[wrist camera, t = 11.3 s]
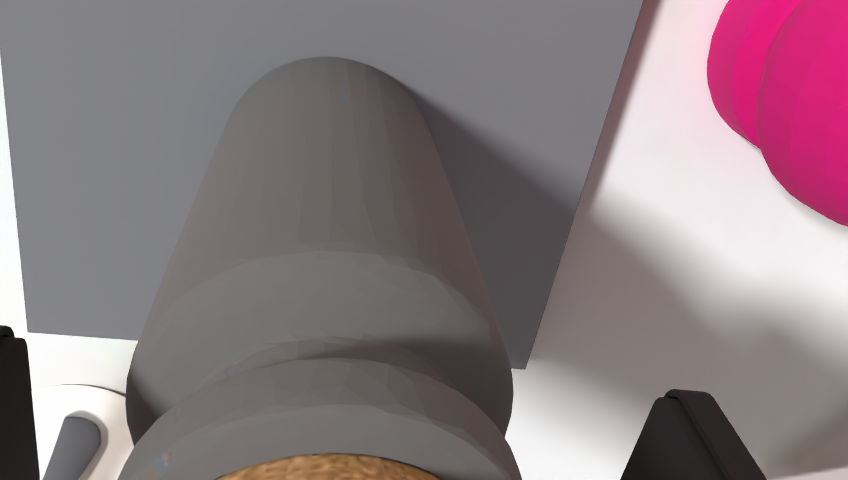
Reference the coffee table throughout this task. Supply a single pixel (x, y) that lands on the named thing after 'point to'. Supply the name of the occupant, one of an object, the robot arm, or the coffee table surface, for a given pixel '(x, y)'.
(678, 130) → the coffee table surface
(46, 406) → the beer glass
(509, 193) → the mat
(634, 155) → the coffee table surface
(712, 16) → the coffee table surface
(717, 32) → the pepper mill
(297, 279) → the bottle
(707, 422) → the robot arm
